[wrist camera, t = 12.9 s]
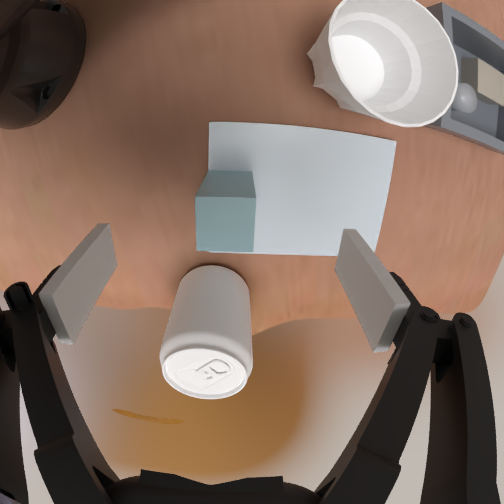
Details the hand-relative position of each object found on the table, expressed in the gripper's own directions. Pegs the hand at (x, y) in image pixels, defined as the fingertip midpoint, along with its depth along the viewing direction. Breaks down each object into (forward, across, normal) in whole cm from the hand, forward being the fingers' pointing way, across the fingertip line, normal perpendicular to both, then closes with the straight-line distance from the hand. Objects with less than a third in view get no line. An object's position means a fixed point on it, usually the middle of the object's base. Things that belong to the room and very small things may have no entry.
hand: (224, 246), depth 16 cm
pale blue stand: (+13, +7, -1) cm, 15 cm away
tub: (+13, +24, +14) cm, 31 cm away
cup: (+13, +11, +12) cm, 21 cm away
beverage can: (+13, -2, -13) cm, 18 cm away
